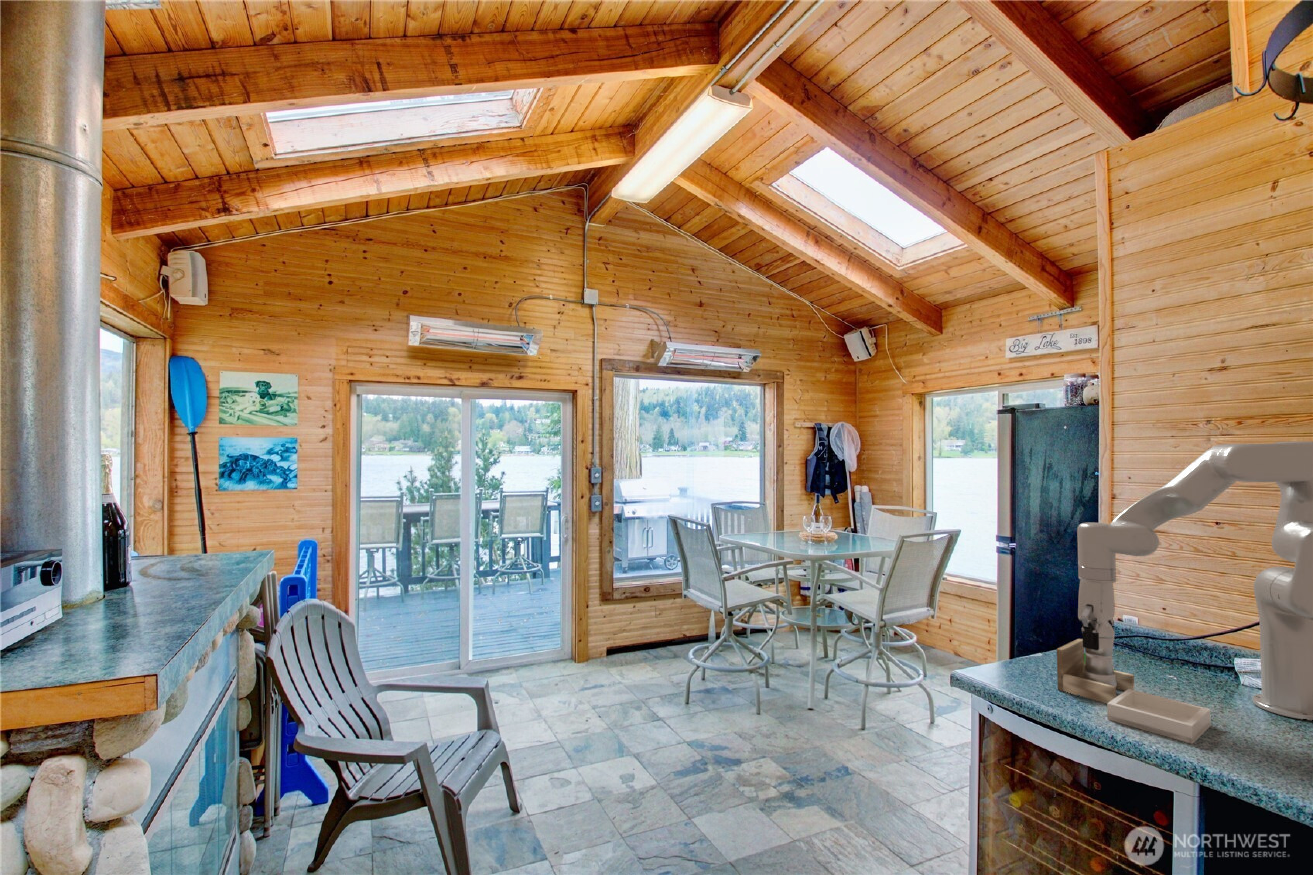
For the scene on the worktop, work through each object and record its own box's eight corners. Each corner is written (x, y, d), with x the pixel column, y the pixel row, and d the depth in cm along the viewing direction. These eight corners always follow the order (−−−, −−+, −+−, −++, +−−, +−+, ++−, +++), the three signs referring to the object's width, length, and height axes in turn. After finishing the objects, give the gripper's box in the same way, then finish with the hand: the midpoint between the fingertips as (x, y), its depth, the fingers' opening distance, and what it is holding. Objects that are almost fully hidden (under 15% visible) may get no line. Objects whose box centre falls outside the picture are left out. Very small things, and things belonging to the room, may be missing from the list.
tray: (1210, 725, 133) (1210, 708, 133) (1192, 743, 125) (1191, 726, 125) (1129, 704, 144) (1128, 688, 144) (1107, 719, 136) (1107, 703, 136)
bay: (1134, 691, 152) (1133, 649, 152) (1114, 705, 143) (1113, 661, 144) (1079, 677, 161) (1078, 638, 161) (1057, 690, 153) (1056, 648, 153)
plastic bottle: (1122, 697, 148) (1120, 612, 148) (1090, 695, 149) (1088, 611, 149) (1108, 687, 154) (1106, 606, 154) (1078, 686, 155) (1076, 605, 156)
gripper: (1092, 567, 160) (1094, 634, 160) (1065, 576, 150) (1066, 647, 150) (1127, 571, 154) (1129, 641, 154) (1101, 581, 144) (1103, 656, 144)
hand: (1098, 644), depth 152 cm, fingers open, 9 cm apart
